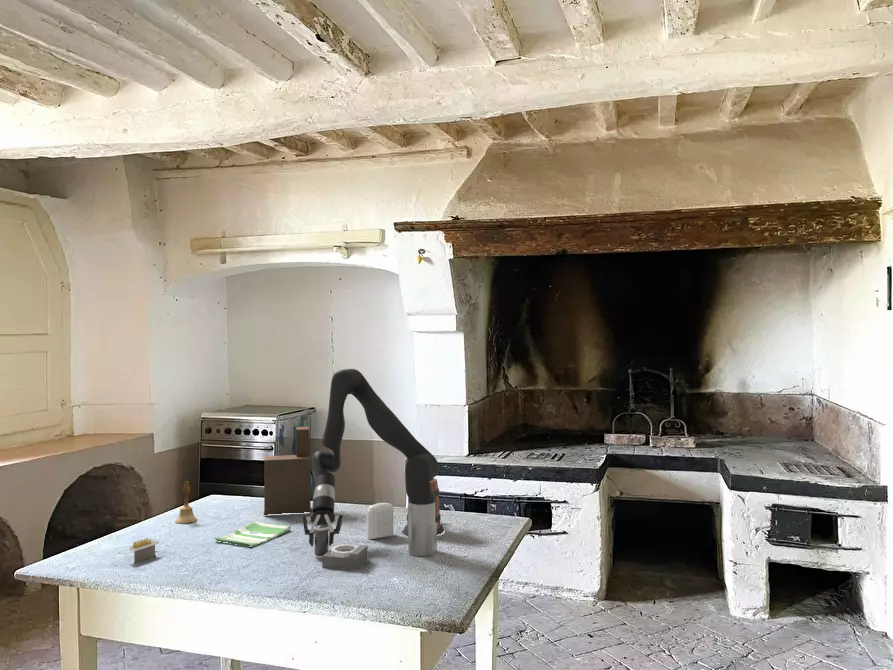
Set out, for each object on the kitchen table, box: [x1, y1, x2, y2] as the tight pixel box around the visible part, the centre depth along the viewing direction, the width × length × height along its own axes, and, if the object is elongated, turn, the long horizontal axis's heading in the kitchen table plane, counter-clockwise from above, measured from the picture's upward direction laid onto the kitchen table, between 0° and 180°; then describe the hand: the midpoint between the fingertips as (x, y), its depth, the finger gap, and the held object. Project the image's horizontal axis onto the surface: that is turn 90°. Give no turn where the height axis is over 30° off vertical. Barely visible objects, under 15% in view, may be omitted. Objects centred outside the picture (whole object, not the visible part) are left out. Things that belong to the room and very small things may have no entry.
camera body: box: [321, 543, 369, 571], centre depth 211 cm, size 12×9×5 cm
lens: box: [313, 524, 330, 559], centre depth 220 cm, size 5×5×10 cm
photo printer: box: [366, 502, 394, 540], centre depth 241 cm, size 10×4×12 cm, turn 123°
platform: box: [129, 537, 160, 564], centre depth 217 cm, size 12×18×7 cm, turn 154°
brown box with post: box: [263, 426, 312, 516], centre depth 279 cm, size 19×14×35 cm
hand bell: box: [175, 480, 198, 525], centre depth 264 cm, size 8×8×16 cm
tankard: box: [401, 477, 445, 537], centre depth 250 cm, size 24×17×20 cm
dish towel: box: [214, 521, 292, 548], centre depth 242 cm, size 18×23×3 cm
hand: (321, 544), depth 218 cm, fingers open, 5 cm apart
